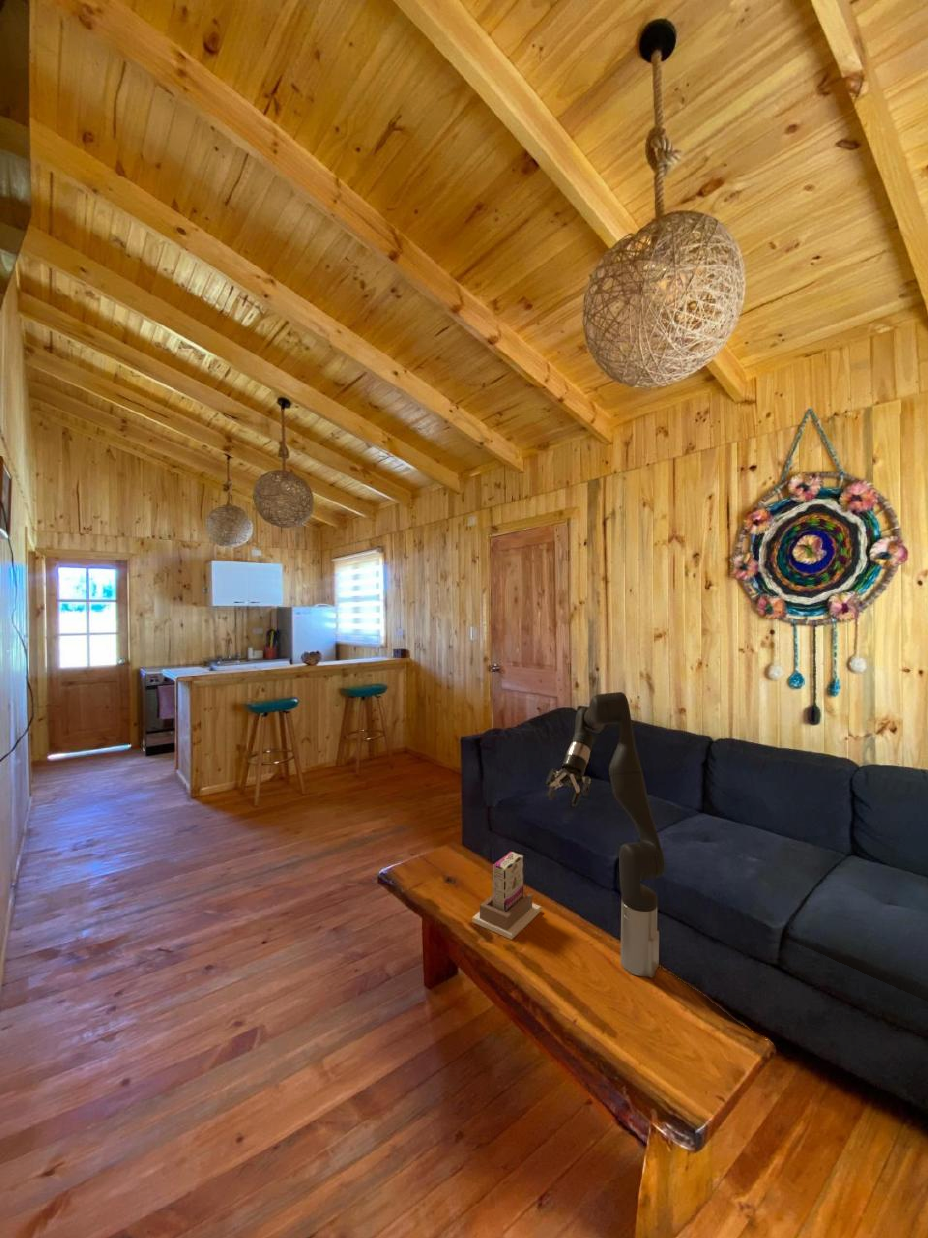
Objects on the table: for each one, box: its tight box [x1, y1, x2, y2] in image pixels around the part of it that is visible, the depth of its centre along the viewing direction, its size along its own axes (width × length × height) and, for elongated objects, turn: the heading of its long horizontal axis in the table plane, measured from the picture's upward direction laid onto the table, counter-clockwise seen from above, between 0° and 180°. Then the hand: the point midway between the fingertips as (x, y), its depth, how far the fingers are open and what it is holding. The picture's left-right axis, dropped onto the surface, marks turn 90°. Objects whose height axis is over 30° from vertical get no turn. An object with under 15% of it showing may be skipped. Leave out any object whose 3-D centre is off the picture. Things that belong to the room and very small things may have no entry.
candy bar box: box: [492, 851, 524, 913], centre depth 161 cm, size 11×5×16 cm, turn 143°
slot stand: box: [471, 893, 542, 941], centre depth 161 cm, size 14×18×6 cm
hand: (561, 802), depth 168 cm, fingers open, 8 cm apart
